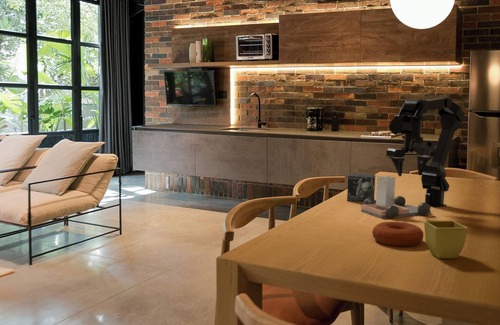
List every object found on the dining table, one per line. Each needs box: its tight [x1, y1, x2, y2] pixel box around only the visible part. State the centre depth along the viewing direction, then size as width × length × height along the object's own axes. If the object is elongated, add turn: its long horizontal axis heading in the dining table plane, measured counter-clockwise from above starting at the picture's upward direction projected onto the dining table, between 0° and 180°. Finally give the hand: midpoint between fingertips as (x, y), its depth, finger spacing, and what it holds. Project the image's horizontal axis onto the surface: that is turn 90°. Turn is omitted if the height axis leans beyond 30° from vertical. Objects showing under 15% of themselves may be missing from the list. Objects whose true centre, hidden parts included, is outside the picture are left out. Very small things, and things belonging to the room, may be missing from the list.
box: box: [346, 173, 376, 203], centre depth 230 cm, size 11×7×10 cm, turn 75°
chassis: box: [360, 195, 432, 220], centre depth 209 cm, size 22×15×4 cm
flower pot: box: [423, 220, 468, 259], centre depth 155 cm, size 9×9×9 cm
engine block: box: [375, 175, 396, 211], centre depth 206 cm, size 4×4×12 cm
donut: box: [371, 221, 425, 248], centre depth 170 cm, size 15×15×5 cm
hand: (410, 175), depth 212 cm, fingers open, 9 cm apart
